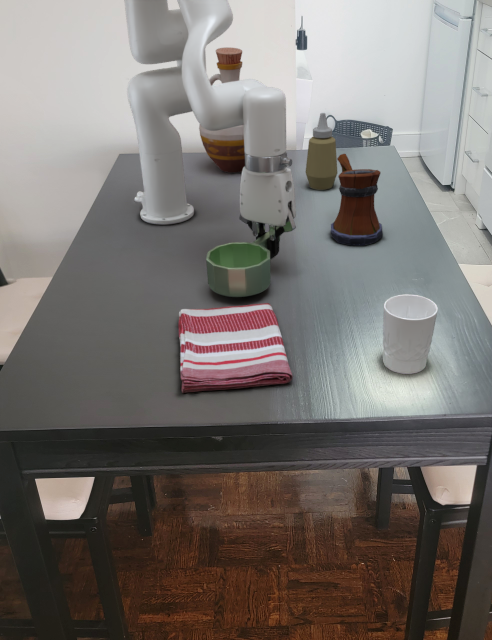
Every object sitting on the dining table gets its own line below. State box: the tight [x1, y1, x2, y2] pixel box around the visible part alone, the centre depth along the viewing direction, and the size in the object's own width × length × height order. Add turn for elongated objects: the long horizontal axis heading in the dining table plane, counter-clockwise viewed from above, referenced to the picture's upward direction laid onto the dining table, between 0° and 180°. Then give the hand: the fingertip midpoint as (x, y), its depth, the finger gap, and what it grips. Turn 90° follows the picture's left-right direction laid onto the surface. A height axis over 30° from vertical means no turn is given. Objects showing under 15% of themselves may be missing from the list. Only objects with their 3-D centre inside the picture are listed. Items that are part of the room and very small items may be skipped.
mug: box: [330, 153, 384, 247], centre depth 148 cm, size 18×12×15 cm, turn 11°
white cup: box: [382, 293, 439, 375], centre depth 106 cm, size 8×8×10 cm
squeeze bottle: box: [305, 112, 338, 191], centre depth 171 cm, size 8×8×18 cm
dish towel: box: [178, 302, 294, 394], centre depth 112 cm, size 17×23×3 cm
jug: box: [198, 47, 245, 174], centre depth 182 cm, size 20×18×30 cm
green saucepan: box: [205, 231, 281, 298], centre depth 130 cm, size 20×12×6 cm, turn 148°
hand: (267, 254), depth 135 cm, fingers closed on green saucepan
